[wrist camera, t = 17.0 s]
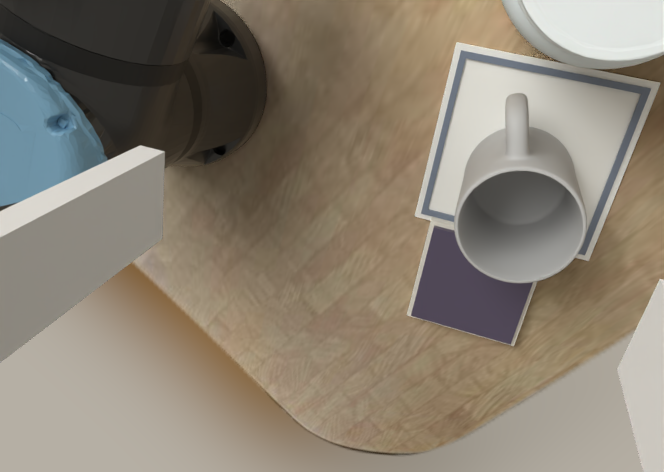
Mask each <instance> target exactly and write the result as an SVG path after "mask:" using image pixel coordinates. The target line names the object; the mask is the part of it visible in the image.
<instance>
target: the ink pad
mask: <svg viewBox="0 0 664 472" xmlns="http://www.w3.org/2000/svg"><path fill="white" fill-rule="evenodd" d="M537 282H538V281H537ZM537 282H531V283H509V282H504V281H500V280H497V279H494V278H491V277H489V276H487V275H485V274H484V273H482V272H480V271H479V270H478V269H476V268H475V267H474V266H473V265H472V264H471V263H470V262H469V261H468V260H467V259H466V258H465V256H464V255H463V253H462V252H461V250H460V248H459V246H458V243H457V240H456V237H455V231H454V222H452V221H448V220H444V219H440V218H436V217H432V218H431V222H430V226H429V229H428V233H427V237H426V241H425V245H424V249H423V253H422V257H421V261H420V265H419V269H418V273H417V276H416V280H415V284H414V288H413V292H412V296H411V300H410V304H409V308H408V312H407V316H410V317H414V318H417V319H421V320H424V321H428V322H431V323H435V324H438V325H442V326H445V327H449V328H452V329H455V330H459V331H462V332H466V333H469V334H473V335H476V336H480V337H483V338H487V339H490V340H494V341H497V342H501V343H504V344H507V345H511V346H514V344H515V342H516V339H517V336H518V334H519V331H520V328H521V325H522V323H523V320H524V317H525V314H526V312H527V309H528V306H529V303H530V301H531V298H532V295H533V292H534V290H535V287H536V284H537Z"/></svg>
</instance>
